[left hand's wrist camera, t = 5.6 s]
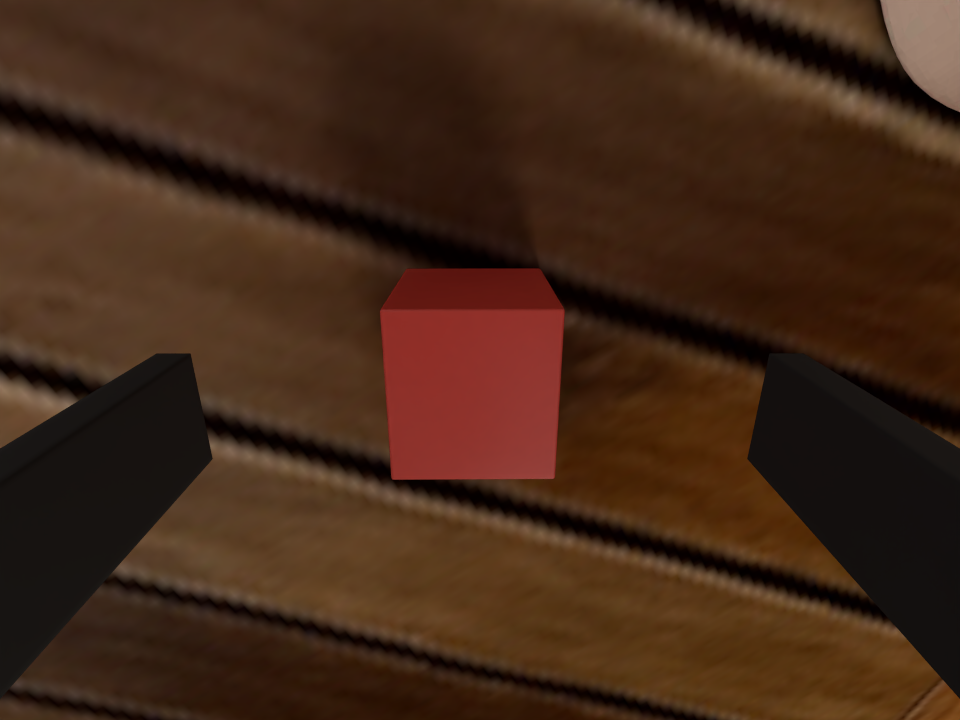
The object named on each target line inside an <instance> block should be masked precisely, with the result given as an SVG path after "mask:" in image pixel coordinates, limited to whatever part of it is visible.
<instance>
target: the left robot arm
mask: <svg viewBox="0 0 960 720" xmlns="http://www.w3.org/2000/svg"><path fill="white" fill-rule="evenodd" d="M211 460H212V454H211V449H210V444H209V440H208V435H207V430H206V425H205V421H204V416H203V411H202V406H201V401H200V397H199V392H198V387H197V382H196V378H195V373H194V368H193V363H192V359H191V354H155V355H154V356H152V357H150V358H149V359H147V360H145V361H144V362H142V363H140V364H139V365H137V366H135V367H134V368H132V369H130V370H129V371H127V372H126V373H124V374H122V375H121V376H119V377H117V378H116V379H114V380H112V381H111V382H109V383H107V384H106V385H104V386H102V387H101V388H99V389H98V390H96V391H94V392H93V393H91V394H89V395H88V396H86V397H84V398H83V399H81V400H79V401H78V402H76V403H75V404H73V405H71V406H70V407H68V408H66V409H65V410H63V411H61V412H60V413H58V414H56V415H55V416H53V417H51V418H50V419H48V420H47V421H45V422H43V423H42V424H40V425H38V426H37V427H35V428H33V429H32V430H30V431H28V432H27V433H25V434H23V435H22V436H20V437H19V438H17V439H15V440H14V441H12V442H10V443H9V444H7V445H5V446H4V447H2V448H0V698H1V697H2V696H3V695H4V694H5V693H6V692H7V690H8V689H9V688H10V687H11V686H12V685H13V684H14V683H15V681H16V680H17V679H18V678H19V677H20V676H21V675H22V673H23V672H24V671H25V670H26V669H27V668H28V667H29V666H30V664H31V663H32V662H33V661H34V660H35V659H36V658H37V657H38V655H39V654H40V653H41V652H42V651H43V650H44V649H45V648H46V646H47V645H48V644H49V643H50V642H51V641H52V640H53V638H54V637H55V636H56V635H57V634H58V633H59V632H60V631H61V629H62V628H63V627H64V626H65V625H66V624H67V623H68V622H69V620H70V619H71V618H72V617H73V616H74V615H75V614H76V613H77V611H78V610H79V609H80V608H81V607H82V606H83V605H84V604H85V602H86V601H87V600H88V599H89V598H90V597H91V596H92V594H93V593H94V592H95V591H96V590H97V589H98V588H99V587H100V585H101V584H102V583H103V582H104V581H105V580H106V579H107V578H108V576H109V575H110V574H111V573H112V572H113V571H114V570H115V569H116V567H117V566H118V565H119V564H120V563H121V562H122V561H123V559H124V558H125V557H126V556H127V555H128V554H129V553H130V552H131V550H132V549H133V548H134V547H135V546H136V545H137V544H138V543H139V541H140V540H141V539H142V538H143V537H144V536H145V535H146V534H147V532H148V531H149V530H150V529H151V528H152V527H153V526H154V524H155V523H156V522H157V521H158V520H159V519H160V518H161V517H162V515H163V514H164V513H165V512H166V511H167V510H168V509H169V508H170V506H171V505H172V504H173V503H174V502H175V501H176V500H177V499H178V497H179V496H180V495H181V494H182V493H183V492H184V491H185V490H186V488H187V487H188V486H189V485H190V484H191V483H192V482H193V480H194V479H195V478H196V477H197V476H198V475H199V474H200V473H201V471H202V470H203V469H204V468H205V467H206V466H207V465H208V464H209V462H210V461H211ZM748 460H749V461H750V462H751V464H752V465H753V466H754V467H755V468H756V469H757V470H758V471H759V473H760V474H761V475H762V476H763V477H764V478H765V479H766V480H767V482H768V483H769V484H770V485H771V486H772V487H773V488H774V490H775V491H776V492H777V493H778V494H779V495H780V496H781V497H782V499H783V500H784V501H785V502H786V503H787V504H788V505H789V506H790V508H791V509H792V510H793V511H794V512H795V513H796V514H797V515H798V517H799V518H800V519H801V520H802V521H803V522H804V523H805V524H806V526H807V527H808V528H809V529H810V530H811V531H812V532H813V534H814V535H815V536H816V537H817V538H818V539H819V540H820V541H821V543H822V544H823V545H824V546H825V547H826V548H827V549H828V550H829V552H830V553H831V554H832V555H833V556H834V557H835V558H836V559H837V561H838V562H839V563H840V564H841V565H842V566H843V567H844V569H845V570H846V571H847V572H848V573H849V574H850V575H851V576H852V578H853V579H854V580H855V581H856V582H857V583H858V584H859V585H860V587H861V588H862V589H863V590H864V591H865V592H866V593H867V594H868V596H869V597H870V598H871V599H872V600H873V601H874V602H875V604H876V605H877V606H878V607H879V608H880V609H881V610H882V611H883V613H884V614H885V615H886V616H887V617H888V618H889V619H890V620H891V622H892V623H893V624H894V625H895V626H896V627H897V628H898V629H899V631H900V632H901V633H902V634H903V635H904V636H905V637H906V638H907V640H908V641H909V642H910V643H911V644H912V645H913V646H914V648H915V649H916V650H917V651H918V652H919V653H920V654H921V655H922V657H923V658H924V659H925V660H926V661H927V662H928V663H929V664H930V666H931V667H932V668H933V669H934V670H935V671H936V672H937V673H938V675H939V676H940V677H941V678H942V679H943V680H944V681H945V683H946V684H947V685H948V686H949V687H950V688H951V689H952V690H953V692H954V693H955V694H956V695H957V696H958V697H959V698H960V448H958V447H956V446H955V445H953V444H951V443H950V442H948V441H946V440H945V439H943V438H941V437H940V436H938V435H937V434H935V433H933V432H932V431H930V430H928V429H927V428H925V427H923V426H922V425H920V424H918V423H917V422H915V421H913V420H912V419H910V418H909V417H907V416H905V415H904V414H902V413H900V412H899V411H897V410H895V409H894V408H892V407H890V406H889V405H887V404H885V403H884V402H882V401H881V400H879V399H877V398H876V397H874V396H872V395H871V394H869V393H867V392H866V391H864V390H862V389H861V388H859V387H858V386H856V385H854V384H853V383H851V382H849V381H848V380H846V379H844V378H843V377H841V376H839V375H838V374H836V373H834V372H833V371H831V370H830V369H828V368H826V367H825V366H823V365H821V364H820V363H818V362H816V361H815V360H813V359H811V358H810V357H808V356H806V355H805V354H769V359H768V363H767V368H766V373H765V378H764V382H763V387H762V392H761V397H760V401H759V406H758V411H757V416H756V421H755V425H754V430H753V435H752V440H751V444H750V449H749V454H748Z"/></svg>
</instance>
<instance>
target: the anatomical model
mask: <svg viewBox="0 0 960 720" xmlns="http://www.w3.org/2000/svg"><path fill="white" fill-rule="evenodd" d="M880 1H881V6H882V11H883V16H884V21H885V24H886V27H887V30H888V34H889V37H890V40H891V43H892V45H893V48H894V50H895V53H896V55H897V58H898V59H899V61H900V63H901V65H902V66H903V68H904V70H905V71H906V72H907V74H908V75H909V76H910V78H911V79H912V80H913V81H914V83H916V84H917V85H918V86H919V87H920V88H921V89H922V90H924V91H925V92H926V93H927V94H928V95H929V96H931V97H932V98H933V99H935V100H937V101H939V102H940V103H942V104H944V105H945V106H947V107H949V108H952V109H954V110H956V111H959V112H960V0H880Z"/></svg>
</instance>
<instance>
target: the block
mask: <svg viewBox="0 0 960 720" xmlns="http://www.w3.org/2000/svg"><path fill="white" fill-rule="evenodd" d="M564 314H565V310H564V308H563V306H562V305H561V303H560V301H559V300H558V298H557V296H556V295H555V293H554V291H553V290H552V288H551V286H550V285H549V283H548V281H547V280H546V278H545V276H544V275H543V273H542V271H541V270H540V269H539V268H537V269H406V271H405V272H404V274H403V275H402V277H401V278H400V280H399V282H398V283H397V285H396V286H395V288H394V289H393V291H392V292H391V294H390V296H389V297H388V299H387V300H386V302H385V303H384V305H383V307H382V308H381V310H380V318H381V333H382V347H383V362H384V376H385V390H386V405H387V419H388V434H389V448H390V463H391V477H392V479H554V478H555V468H556V451H557V434H558V417H559V399H560V382H561V365H562V348H563V331H564Z"/></svg>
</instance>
